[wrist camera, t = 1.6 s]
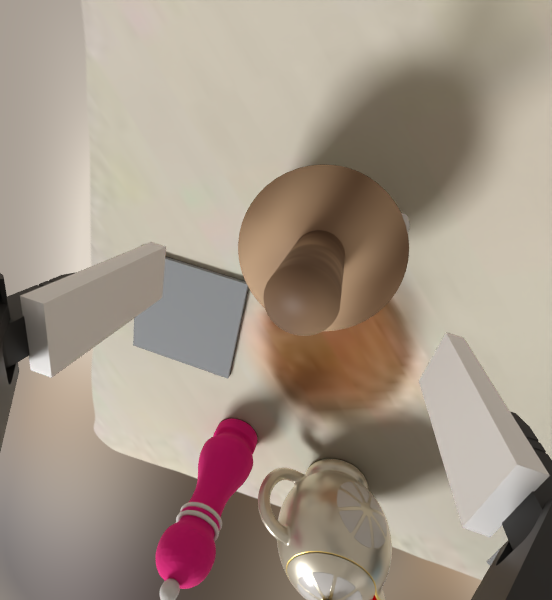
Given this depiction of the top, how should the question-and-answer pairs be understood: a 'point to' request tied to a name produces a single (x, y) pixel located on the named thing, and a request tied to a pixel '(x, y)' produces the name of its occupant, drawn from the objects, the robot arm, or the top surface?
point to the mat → (194, 318)
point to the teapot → (329, 532)
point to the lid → (323, 249)
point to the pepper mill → (205, 508)
